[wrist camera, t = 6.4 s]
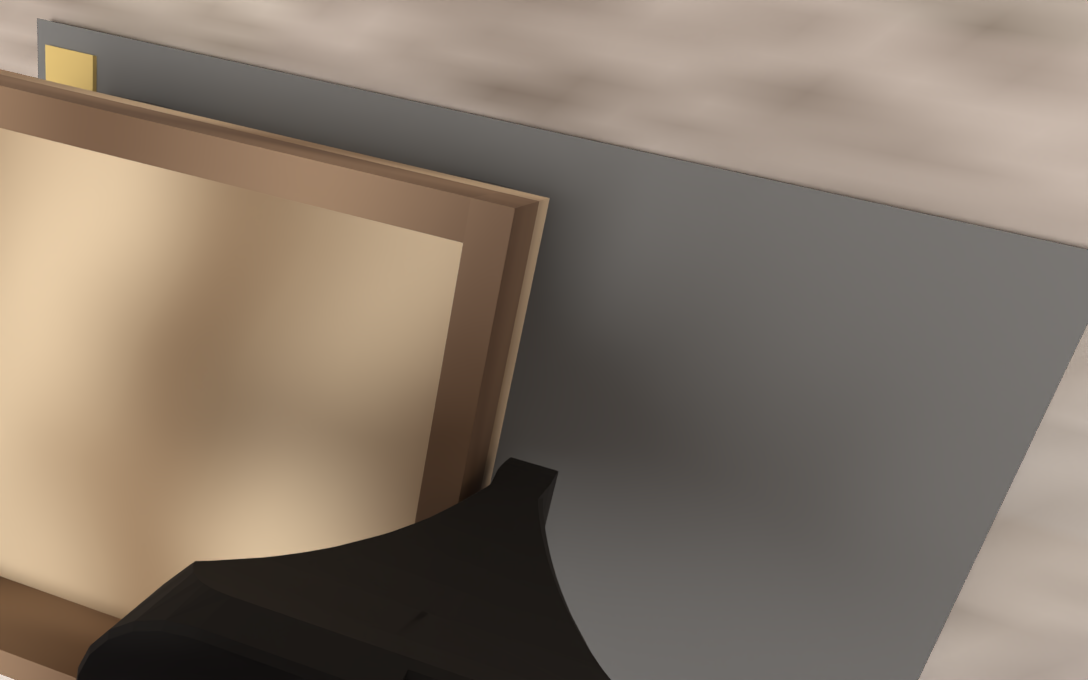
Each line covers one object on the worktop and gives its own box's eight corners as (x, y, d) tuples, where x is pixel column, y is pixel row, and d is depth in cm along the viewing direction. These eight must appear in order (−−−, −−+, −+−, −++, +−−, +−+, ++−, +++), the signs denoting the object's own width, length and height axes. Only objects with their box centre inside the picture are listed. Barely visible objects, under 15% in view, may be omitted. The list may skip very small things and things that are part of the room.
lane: (1109, 254, 12) (1123, 257, 11) (857, 788, 16) (861, 804, 15) (49, 21, 15) (32, 17, 14) (56, 518, 19) (43, 526, 18)
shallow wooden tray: (573, 191, 13) (515, 208, 9) (475, 641, 16) (396, 823, 12) (84, 78, 14) (-182, 42, 10) (85, 511, 18) (-117, 629, 13)
